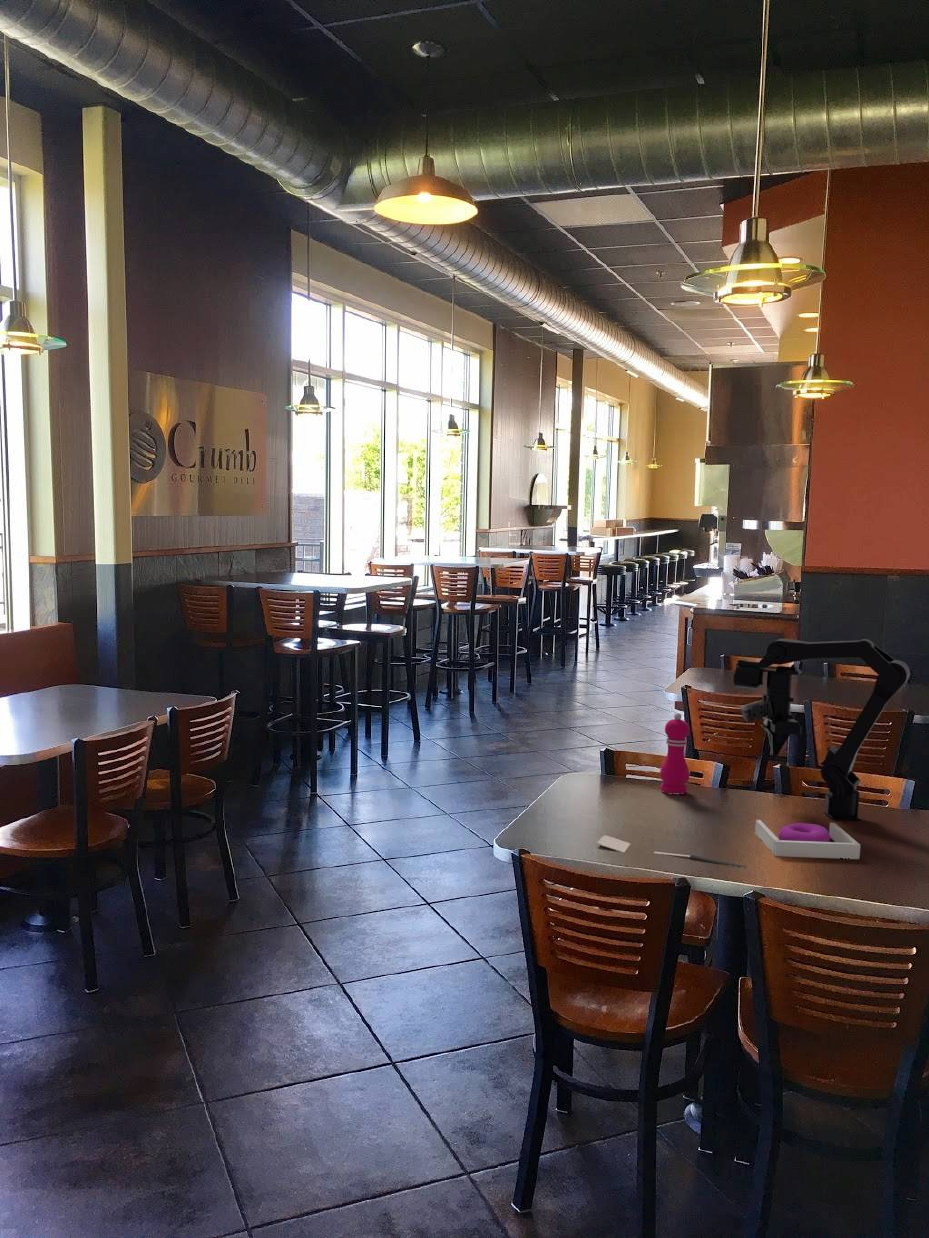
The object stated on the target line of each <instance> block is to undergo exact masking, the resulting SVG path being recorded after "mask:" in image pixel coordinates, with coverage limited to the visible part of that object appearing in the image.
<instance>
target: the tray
mask: <svg viewBox="0 0 929 1238" xmlns="http://www.w3.org/2000/svg"><path fill="white" fill-rule="evenodd" d="M754 829H755V830H754V834H755V836H757V838H758V839H759V840H760V839H761V840H762V841H763V842H762V841H761V840H760V841H761V842H762V843H763V844H764V845H765V846H766V847H767V849H768V850H769V849H770V850H771V851H772V852H771V851H770V850H769V851H770V852H771V854H773V855H774V856H775V857H788V858H789V857H791V858H792V857H794V858H812V859H813V858H814V859H816V858H819V859H821V858H822V859H840V858H843V859H844V860H845V858H846V860H860V855H861V844H860V843H859V842H858V841H856V840H855V839H854V838H853V837H852V836H850V835H849V834H848V833H847V832H846V831H844V830H843V829H842V828H841V827H840V826H839V825H838V824H836V823H835V822H829V829H828V832H829V834H830V837H831V839H830V840H832V842H831V841H829V842H812V841H786V840H780V839H779V837H777V836H776V835H775V834H774V832H772V830H771V829H770V828H768V826H767V825H766V824H765V823H764V822H763V821H762V820H761V819H755V827H754ZM833 841H834V842H833ZM848 858H849V859H848Z"/></svg>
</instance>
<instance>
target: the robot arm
mask: <svg viewBox="0 0 929 1238" xmlns="http://www.w3.org/2000/svg"><path fill="white" fill-rule="evenodd" d="M833 658H834V659H835V658H836V659H837V658H838V659H839V658H840V659H841V658H860V659H861V660H862V661H864V663H866V665H867V666H868V667H869V668H870V669H871V670H872V671H873V672H874V673H876V675H877V677H876V680H875V684H874V687H873V690H872V693H871V695H870V697H869V698H868V699H867V700H868V701H867V702H866V704H865V705H864V707H863V708H862V710H861V712H860V713H859V715H858V716H857V719H856V720H855V722H854V724H853V725H852V727H851V729H850V730H849V732H848V734H847V735H846V737H845V739H844V740H843V742H842V743H841V745H840V746H839V747H837V746H836V745H832V746H831V747H830V748H829V749H828V751H827V753H826V756H825V758H824V759H823V760H822V761H821V762H820V763H819V764H820V766H821V768H820V771H819V772H820V776H821V778H822V780H823V781H824V782H825V783H826V784H827V787H828V788H827V794H825V795H824V809H823V812H824V814H826V815H827V816H829V817H830V818H831V819H833V820H845V821H846V820H848V821H861V820H862V818H861V817H860V816H859V807H860V805H859V804H860V791H858V790H857V788H858V787H859V785H860V783H861V779H860V777H858V776H857V775H856V773H855V772H854V771H852V770H853V768H854V764H855V762H856V759H857V755H858V752H859V750H860V749H861V747H862V745H863V743H865V740H866V739H867V738H868V735H869V733H870V732H871V730H872V728H873V727H874V725H875V724H876V722H877V720H878V719H879V717H880V716H881V714H882V712H883V711H884V709H885V707H886V705H887V704H888V703H889V701H890V700H891V699H892V698H893V697H894V696H895V694H896V693H897V692H899V690H900V689H901V688H902V687H903V686H904V685H905V683H907V682H908V681H909V679H910V676H911V671H910V668H909V666H908V665H907V663H905V662H904V661H902V660H900V659H895V658H893V657H892V656H891V655H890V654H889V653H887V652H885V651H884V650H883V649H881V648H880V647H879V646H878V645H876V644H875V643H874V642H873V641H872V640H871V639H868V638H867V639H866V638H863V639H858V640H837V641H836V640H835V641H834V640H833V641H813V642H811V641H805V640H804V641H803V640H798V639H790V638H779V639H777V640H774V641H771V642H770V643H769V645H767V649H766V654H765V655H764V656H763V657H762V658H761V659H759V661H755V660H754V661H753V660H747V659H745V658H743V659H742V658H741V659H737V665H736V667H735V669H734V673H733V685H734V687H735V688H745V689H754V690H760V689H761V687H763V686H765V685H766V689H765V690H766V691H765V693H763V695H762V697H761V700H757V701H754V702H753V701H752V702H750V703H747V704H744V705H741V706H740V707H739V708H740V711H741V714H742V719H743V720H745V721H746V723H752V722H755V720H756V721H760V719H763V723H760V726H761V727H762V728H763V729H764V731H766V733H767V737H768V742H769V747H770V751H771V756H773V757H778V755H779V754H780V752H781V750H782V749H783V747H784V745H785V743H786V742H787V740H788V738H789V737H790V735H802V731H803V725H802V724H801V723H800V722H798V720H795V719H794V718H793V714H792V713H791V703H794V701H795V700H794V698H795V697H794V696H792V688H793V676H799V675H801V674H802V673H803V672H802V670H801V669H800V668H799V667H798V666H797V664H796V662H799V661H805V660H809V659H811V660H812V659H833ZM790 663H793V664H791V665H790V666H784V665H785V664H790ZM773 665H777V667H776V668H769V667H771V666H773Z"/></svg>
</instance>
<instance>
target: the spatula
mask: <svg viewBox="0 0 929 1238" xmlns="http://www.w3.org/2000/svg"><path fill="white" fill-rule="evenodd" d="M596 844H598V845H599V846H603V847H605V848H608V849H611V850H614V851H617V852H619V853H620V852H621V853H625V852H626V851H627V850H628V848H629V846H630V845H631V844H632V843H631V842H627V841H624V840H621V839H618V838H616V837H612V836H609V835H605V834H604V835H603V836H602V837H601V838H600V839H599V840H598V841H597V842H596ZM653 853H654V854H657V855H658V854H659V855H664V856H673V857H684V858H689V859H691V860H697V861H699V862H705V861H706V863H710V862H712V863H711V864H716V863H719V864H718V865H721V864H724V865H723V866H727V865H732V866H731V867H733V866H737V867H736V868H740V867H746V868H747V865H742V864H737V863H733V862H728V861H724V860H718V859H715V858H714V859H713V858H711V857H710V858H709V857H704V856H699V855H695V854H690V855H689V854H688V855H687V854H681V853H680V854H678V853H671V852H669V853H668V852H662V851H661V852H660V851H654V852H653Z"/></svg>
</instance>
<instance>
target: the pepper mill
mask: <svg viewBox="0 0 929 1238" xmlns="http://www.w3.org/2000/svg"><path fill="white" fill-rule="evenodd" d="M673 717H674V718H673V719H670V720H669V721H667V722H666V724H665V727H664V733H665V735H666V736H667V737H666V738H665V740H666V745H667V753H666V757H665V759H664V761H663V764H662V765H661V767H660V771H659V777H660V778H661V780H662V781H663V782H662V783H661V784H660V785H661V787H660V790H662V791H664V792H666V793H672V794H673V793H679V794H681V793H685V792H686V791H687V790H688V787H687V785H686V783H687V782H688V781H689V780H690V771H689V767H688V765H687V762H686V758H685V748H686V746H687V741H688V740H687V737H688V736H689V734H690V726H689V724H688V722H687V721H685V720H683V719H682V714H681V713H679V712H678V713H675V714H674V715H673ZM662 791H661V792H662ZM666 793H665V794H666Z"/></svg>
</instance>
